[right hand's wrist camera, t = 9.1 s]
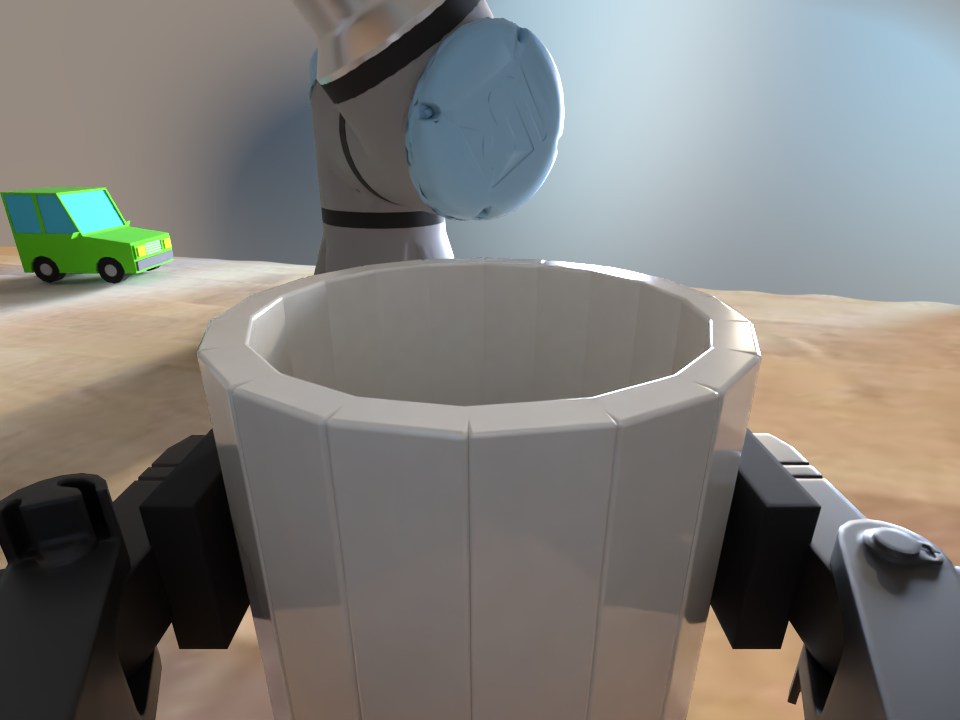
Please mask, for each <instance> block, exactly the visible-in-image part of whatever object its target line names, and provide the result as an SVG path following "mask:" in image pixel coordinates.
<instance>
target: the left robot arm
mask: <svg viewBox="0 0 960 720" xmlns="http://www.w3.org/2000/svg"><path fill="white" fill-rule="evenodd" d="M291 1H292V2H293V4H294V5H295V6H296V8H297V9H298V11H299V12H300V14H301V15H302V17H303V18H304V20H305V21H306V23H307V24H308V25H309V27H310V28H311V30H312V31H313V33H314V34H315V36H316V38H317V44H318V48H317V49H316V50H315V51H314V53H313V55H312V56H311V59H310V63H309V79H310V83H309V86H308V97H309V101H310V103H311V108H312V118H313V128H314V138H315V148H316V158H317V168H318V178H319V189H320V199H321V208H322V218H323V237H322V242H321V246H320V251H319V255H318V259H317V264H316V268H315V273H314V275H318V274H323V273H328V272H333V271H339V270H344V269H349V268H354V267H359V266H362V267H363V266H364V265H373V264H382V263H392V262H402V261H411V260H425V259H450V258H454V256H453V253H452V250H451V247H450V244H449V241H448V237H447V234H446V230H445V218H447V219H451V220H458V221H465V220H491V219H496V218H499V217H502V216H505V215H507V214H509V213H511V212H513V211H515V210H516V209H518V208H519V207H521V206H522V205H523V204H525V203H526V202H527V201H528V200H529V199H530V198H531V197H532V196H533V195H534V194H535V193H536V192H537V190H538V189H539V188H540V187H541V185H542V184H543V182H544V181H545V179H546V177H547V175H548V174H549V172H550V170H551V168H552V166H553V163H554V161H555V158H556V155H557V141H558V139H559V137H561V135H562V130H563V122H564V100H563V91H562V86H561V81H560V77H559V74H558V71H557V68H556V66H555V63H554V61H553V59H552V57H551V55H550V53H549V51H548V50H547V48H546V47H545V46H544V44H543V43H542V42H541V41H540V39H539V38H538V37H537V36H535V35H534V34H533V33H532V32H531V31H529V30H528V29H526V28H521V27H519V26H517V25H516V24H515V23H513V22H510V21H508V20H506V19H504V18H494V17H493V15H492V13H491V11H490V9H489V6H488V4H487V2H486V0H291Z"/></svg>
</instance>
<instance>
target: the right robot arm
mask: <svg viewBox="0 0 960 720" xmlns="http://www.w3.org/2000/svg"><path fill="white" fill-rule="evenodd" d="M0 545H1V548H2V550H3V552H4V555H5V557H6V560H7V562H8V565H7V567H6V569H1V570H0V720H155V718H156V710H157V702H158V694H159V686H160V678H161V670H162V666H161V659H160V654H159V651H158V648H157V644H158V642H159V641H160V639H161V638H162V636H163V635H164V633H165V632H166V630H167V629H168V627H169V625H170V624H171V622H172V625H173V628H174V632H175V635H176V639H177V642H178V645H179V649H228V647H229V645H230V643H231V641H232V639H233V637H234V635H235V633H236V631H237V629H238V627H239V625H240V623H241V621H242V619H243V617H244V615H245V613H246V611H247V609H248V607H249V605H250V602H249V597H248V592H247V588H246V583H245V578H244V574H243V569H242V564H241V560H240V555H239V550H238V545H237V541H236V536H235V531H234V527H233V522H232V517H231V513H230V508H229V503H228V498H227V494H226V489H225V484H224V480H223V475H222V470H221V466H220V461H219V456H218V451H217V447H216V442H215V437H214V433H213V428H212V429H211V430H210V431H209V432H208V433H207V434H206V435H191V436H189V437H188V438H186V439H184V440H182V441H180V442H179V443H177V444H175V445H173V446H172V447H170V448H168V449H167V450H166V451H165V452H164V453H163V454H162V455H161V456H160V457H159V458H158V459H157V460H156V461H155V462H154V463H153V464H152V467H148V468H147V469H146V470H145V471H144V472H143V473H142V474H141V475H140V476H139V477H138V481H134V482H133V483H132V484H131V485H130V486H129V487H128V488H127V489H126V490H125V491H124V492H123V493H122V494H121V495H120V496H119V497H118V498H117V499H116V500H115V501H114V502H112V499H111V496H110V492H109V489H108V486H107V483H106V480H104V479H103V478H101V477H99V476H98V475H93V474H84V473H79V474H70V475H61V476H58V477H54V478H50V479H46V480H42V481H39V482H37V483H34V484H32V485H29V486H27V487H25V488H22V489H20V490H17V491H16V492H14V493H13V494H11V495H9V496H8V497H6V498H4V499H3V500H1V501H0ZM710 604H711V606H712V608H713V610H714V612H715V614H716V616H717V618H718V620H719V622H720V624H721V626H722V628H723V630H724V632H725V634H726V636H727V638H728V640H729V642H730V644H731V646H732V648H733V649H781V646H782V642H783V639H784V636H785V632H786V629H787V625H788V622H789V621H790V622H791V624H792V625H793V627H794V629H795V630H796V632H797V633H798V635H799V636H800V638H801V639H802V641H803V642H804V645H803V648H802V651H801V654H800V658H799V661H798V664H797V667H796V671H795V674H794V677H793V680H792V684H791V687H790V690H789V696H788V702H789V703H792V704H795V705H796V702H797V699H798V696H799V693H800V692H802V700H803V708H804V716H805V720H960V567H957V566H953V564H952V562H951V561H950V560H949V559H948V557H947V556H946V555H945V554H944V553H943V551H942V550H941V549H939V548H938V547H937V546H935V545H934V544H932V543H931V542H930V541H928V540H927V539H925V538H924V537H922V536H920V535H918V534H916V533H914V532H912V531H909V530H907V529H905V528H903V527H900V526H897V525H893V524H890V523H887V522H883V521H877V520H869V519H867V518H866V517H865V516H864V515H863V514H862V513H861V512H860V511H859V510H857V509H856V508H855V507H854V506H853V505H852V504H851V503H850V502H849V501H848V500H847V499H846V498H845V497H844V496H843V495H842V494H841V493H840V492H839V491H838V490H837V489H836V488H835V487H834V486H833V485H832V484H831V483H830V482H829V481H828V480H827V479H823V478H822V475H821V474H820V473H819V472H818V471H817V470H816V469H815V468H814V467H813V466H812V465H809V462H808V461H807V460H806V459H805V458H804V457H803V456H802V455H801V454H800V453H799V452H798V451H797V450H796V449H795V448H794V447H792V446H791V445H789V444H787V443H785V442H783V441H782V440H780V439H778V438H776V437H774V436H773V435H771V434H769V433H752V432H751V431H750V430H749V429H748V428H747V430H746V435H745V440H744V445H743V450H742V454H741V459H740V464H739V469H738V473H737V478H736V483H735V488H734V493H733V497H732V502H731V507H730V512H729V517H728V521H727V526H726V531H725V536H724V541H723V545H722V550H721V555H720V560H719V565H718V569H717V574H716V579H715V584H714V589H713V593H712V598H711V603H710Z"/></svg>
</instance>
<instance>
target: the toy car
mask: <svg viewBox="0 0 960 720" xmlns="http://www.w3.org/2000/svg"><path fill="white" fill-rule="evenodd" d="M1 197H2V200H3V203H4V206H5V210H6V213H7V216H8V220H9V223H10V226H11V229H12V233H13V236H14V239H15V243H16V246H17V249H18V252H19V256H20V259H21V262H22V265H23V269H24V272H25V273H33V272H35V274H36V275H37V276H38V277H39V278H40V279H41V280H43V281H46V282H54V281H57V280H61V279H63V278H64V276H65V275H66V273H99V274H100V276H101V277H102V278H103V279H104V280H106V281H107V282H110V283H118V282H121V281H124V280H126V279H127V277H128V276H129V273H139V272H142V271H145V270H147V271H150V270H154V269H156V268H159V267H160V265H161V264H164V263H167V262H170V261H172V260H173V252H172V250H171V248H172V247H171V242H170V237H169V234H168V233H165V232H159V231H153V230H147V229H142V228H136V227H130V226H129V224H130V221H127V222H125V220H124V218H123V217H122V215H121V213H120V212H119V210H118V208H117V207H116V205H115V203H114V201H113V200H112V198H111V196H110V195H109V193H108V191H107V189H106V188H91V187H90V188H89V187H52V188H41V189H31V190H20V191H9V192H1Z"/></svg>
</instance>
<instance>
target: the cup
mask: <svg viewBox="0 0 960 720" xmlns="http://www.w3.org/2000/svg"><path fill="white" fill-rule="evenodd" d="M197 357H198V362H199V367H200V372H201V376H202V381H203V386H204V390H205V395H206V400H207V404H208V409H209V414H210V419H211V423H212V428H213V433H214V437H215V442H216V447H217V451H218V456H219V461H220V466H221V470H222V475H223V480H224V484H225V489H226V494H227V498H228V503H229V508H230V513H231V517H232V522H233V527H234V531H235V536H236V541H237V545H238V550H239V555H240V560H241V564H242V569H243V574H244V578H245V583H246V588H247V592H248V597H249V602H250V607H251V611H252V616H253V621H254V625H255V630H256V635H257V639H258V644H259V649H260V654H261V658H262V663H263V668H264V672H265V677H266V682H267V686H268V691H269V696H270V701H271V705H272V710H273V715H274V719H275V720H686V718H687V713H688V708H689V704H690V699H691V694H692V689H693V684H694V680H695V675H696V670H697V665H698V660H699V656H700V651H701V646H702V641H703V637H704V632H705V627H706V622H707V617H708V613H709V608H710V603H711V598H712V593H713V589H714V584H715V579H716V574H717V569H718V565H719V560H720V555H721V550H722V545H723V541H724V536H725V531H726V526H727V521H728V517H729V512H730V507H731V502H732V497H733V493H734V488H735V483H736V478H737V473H738V469H739V464H740V459H741V454H742V450H743V445H744V440H745V435H746V430H747V426H748V421H749V416H750V411H751V406H752V402H753V397H754V392H755V387H756V382H757V378H758V373H759V368H760V363H761V355H760V351H759V347H758V343H757V339H756V335H755V331H754V327H753V325H752V324H751V322H750V321H749V320H747V319H746V318H744V317H743V316H741V315H740V314H738V313H737V312H736V311H734V310H733V309H731V308H730V307H728V306H727V305H726V304H724V303H723V302H721V301H720V300H718V299H717V298H715V297H714V296H712V295H709V294H706V293H703V292H700V291H698V290H695V289H692V288H689V287H686V286H683V285H681V284H678V283H675V282H672V281H669V280H667V279H662V278H659V277H654V276H650V275H645V274H640V273H635V272H630V271H625V270H621V269H616V268H611V267H603V266H595V265H586V264H578V263H569V262H560V261H551V260H546V261H544V260H536V259H510V258H450V259H425V260H411V261H402V262H392V263H382V264H373V265H364V266H363V267H362V266H359V267H354V268H349V269H344V270H339V271H333V272H328V273H323V274H318V275H313V276H308V277H306V278H301V279H298V280H295V281H292V282H289V283H286V284H283V285H280V286H277V287H274V288H271V289H268V290H265V291H262V292H259V293H256V294H254V295H251V296H249V297H247V298H246V299H244V300H242V301H241V302H239V303H238V304H236V305H234V306H233V307H231V308H230V309H228V310H226V311H225V312H223V313H222V314H220V315H218V316H217V317H215V318H214V319H212V320H210V322H209V324H208V327H207V329H206V331H205V334H204V336H203V338H202V341H201V343H200V345H199V348H198V350H197Z"/></svg>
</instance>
